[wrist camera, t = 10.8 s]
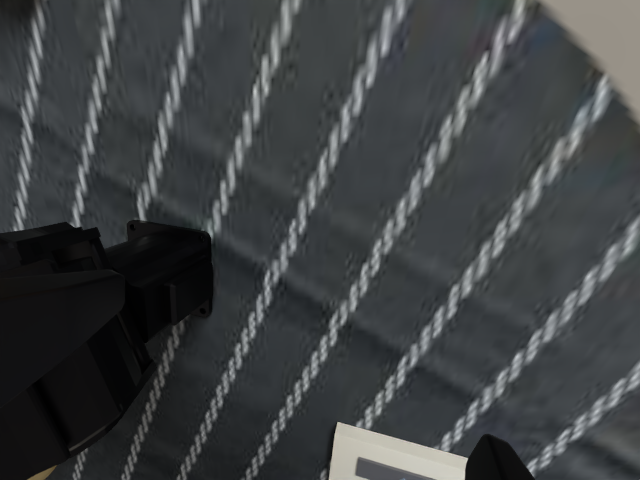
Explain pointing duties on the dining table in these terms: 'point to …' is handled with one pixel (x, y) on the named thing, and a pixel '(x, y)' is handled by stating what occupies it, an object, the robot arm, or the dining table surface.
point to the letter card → (389, 458)
